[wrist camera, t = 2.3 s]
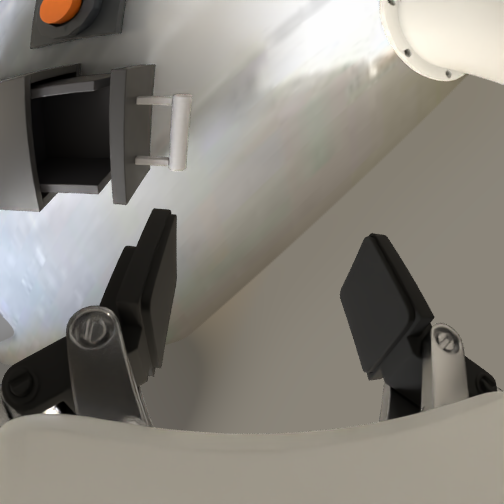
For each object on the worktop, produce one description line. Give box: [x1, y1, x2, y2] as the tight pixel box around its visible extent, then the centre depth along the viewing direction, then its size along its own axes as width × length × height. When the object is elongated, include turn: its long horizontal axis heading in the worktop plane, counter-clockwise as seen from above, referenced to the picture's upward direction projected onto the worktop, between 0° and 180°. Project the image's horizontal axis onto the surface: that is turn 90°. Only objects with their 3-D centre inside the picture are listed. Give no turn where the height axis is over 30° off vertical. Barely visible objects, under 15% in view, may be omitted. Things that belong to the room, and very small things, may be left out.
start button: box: [40, 0, 82, 24], centre depth 13 cm, size 4×4×2 cm
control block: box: [30, 0, 126, 49], centre depth 15 cm, size 10×7×3 cm
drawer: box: [30, 64, 192, 205], centre depth 20 cm, size 17×10×7 cm, turn 81°
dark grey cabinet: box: [0, 64, 80, 212], centre depth 19 cm, size 14×12×9 cm
